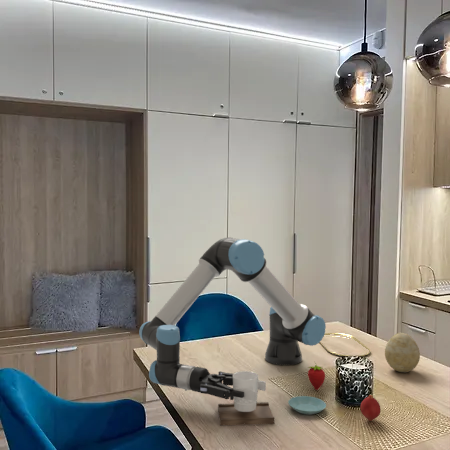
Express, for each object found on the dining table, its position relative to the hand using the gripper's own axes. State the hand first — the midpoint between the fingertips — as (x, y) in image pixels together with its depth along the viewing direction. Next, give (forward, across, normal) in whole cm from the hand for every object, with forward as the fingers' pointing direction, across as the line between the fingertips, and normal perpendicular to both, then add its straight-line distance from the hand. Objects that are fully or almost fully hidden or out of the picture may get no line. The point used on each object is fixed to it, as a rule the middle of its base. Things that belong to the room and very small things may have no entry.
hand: (260, 390), depth 144 cm
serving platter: (+6, -86, -9) cm, 86 cm away
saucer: (+11, -13, -9) cm, 19 cm away
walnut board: (-5, 0, -9) cm, 10 cm away
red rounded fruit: (+30, -14, -9) cm, 34 cm away
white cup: (-5, 0, -6) cm, 8 cm away
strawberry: (+9, -30, -9) cm, 32 cm away
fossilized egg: (+34, -62, -9) cm, 72 cm away
